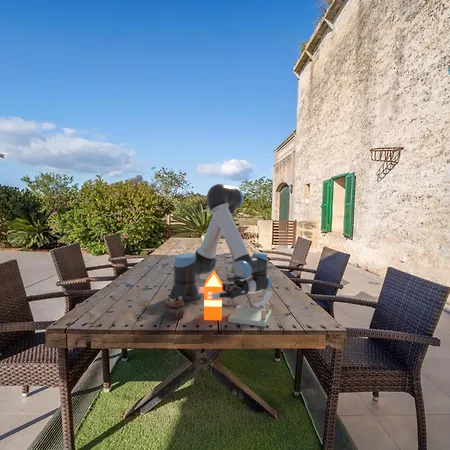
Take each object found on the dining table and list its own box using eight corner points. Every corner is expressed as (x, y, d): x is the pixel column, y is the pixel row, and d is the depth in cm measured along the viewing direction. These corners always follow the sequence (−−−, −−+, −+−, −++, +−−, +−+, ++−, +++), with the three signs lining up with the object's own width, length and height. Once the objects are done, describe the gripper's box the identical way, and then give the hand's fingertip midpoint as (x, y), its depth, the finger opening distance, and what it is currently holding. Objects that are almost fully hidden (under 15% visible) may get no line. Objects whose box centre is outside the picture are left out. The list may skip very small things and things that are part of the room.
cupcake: (189, 316, 129) (190, 294, 129) (172, 322, 122) (172, 299, 122) (175, 311, 136) (176, 290, 135) (158, 316, 129) (158, 294, 128)
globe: (246, 258, 201) (248, 256, 216) (225, 264, 204) (229, 261, 218) (252, 277, 201) (253, 273, 215) (231, 282, 203) (233, 278, 218)
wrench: (252, 308, 144) (252, 306, 144) (262, 291, 175) (262, 290, 175) (269, 310, 142) (269, 308, 142) (277, 293, 172) (277, 291, 172)
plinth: (228, 321, 125) (228, 307, 125) (237, 309, 140) (238, 297, 140) (265, 326, 120) (266, 312, 120) (271, 314, 135) (271, 301, 135)
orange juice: (221, 313, 135) (222, 270, 134) (221, 320, 126) (222, 274, 125) (204, 312, 134) (205, 269, 133) (203, 320, 126) (204, 273, 125)
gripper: (260, 300, 131) (220, 309, 118) (229, 288, 150) (191, 295, 136) (261, 283, 131) (221, 291, 118) (229, 274, 149) (192, 279, 136)
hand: (205, 293), depth 127 cm, fingers closed on orange juice, 10 cm apart
